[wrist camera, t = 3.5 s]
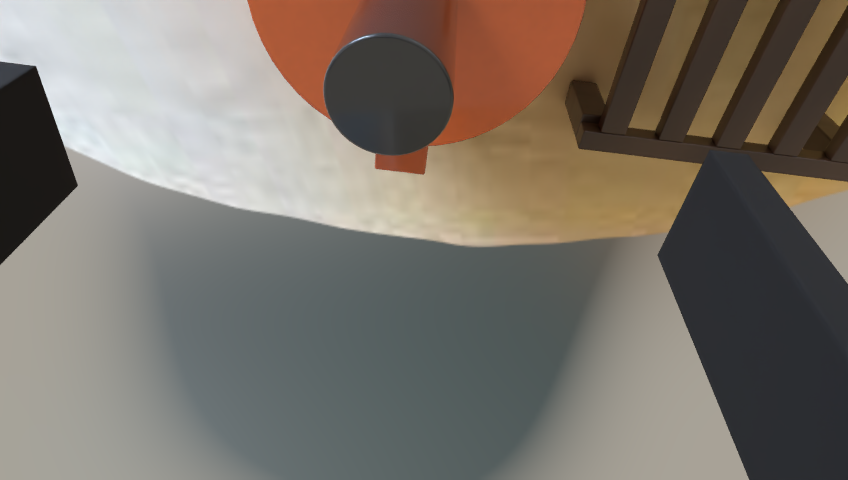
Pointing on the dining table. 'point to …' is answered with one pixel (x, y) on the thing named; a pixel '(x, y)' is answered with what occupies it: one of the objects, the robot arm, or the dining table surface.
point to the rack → (800, 127)
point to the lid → (417, 63)
